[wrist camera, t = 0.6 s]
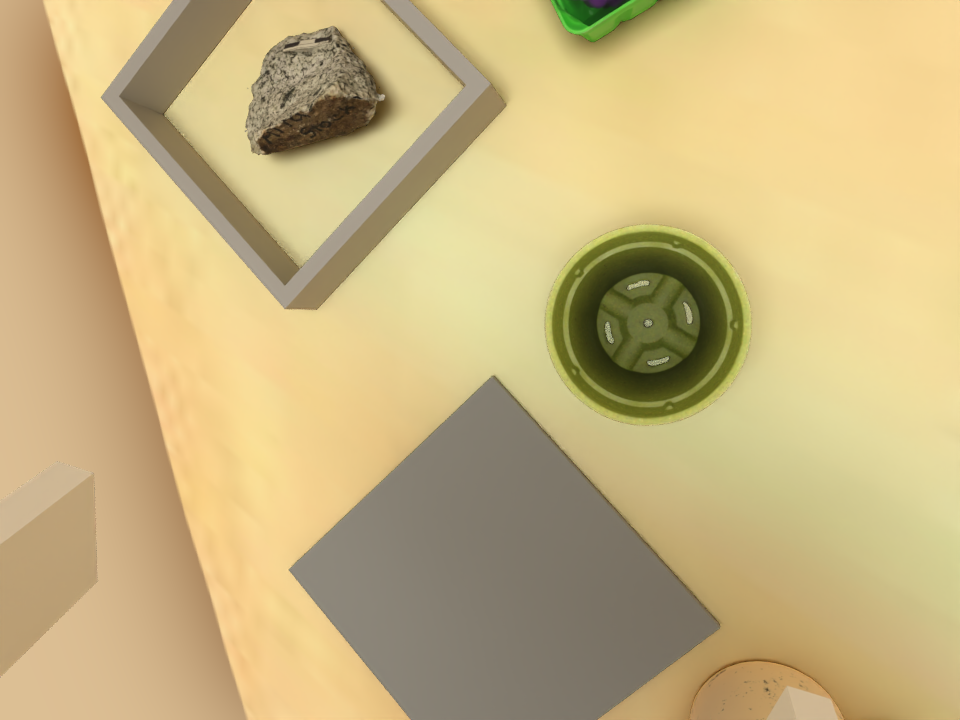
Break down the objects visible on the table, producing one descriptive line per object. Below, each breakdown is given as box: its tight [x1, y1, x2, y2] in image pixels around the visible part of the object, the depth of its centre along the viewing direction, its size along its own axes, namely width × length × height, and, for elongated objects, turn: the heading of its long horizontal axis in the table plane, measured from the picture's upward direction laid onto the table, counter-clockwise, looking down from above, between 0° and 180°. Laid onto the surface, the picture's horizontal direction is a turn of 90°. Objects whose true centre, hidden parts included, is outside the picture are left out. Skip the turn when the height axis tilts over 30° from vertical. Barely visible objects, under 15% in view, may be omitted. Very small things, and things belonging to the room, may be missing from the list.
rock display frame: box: [101, 0, 506, 310], centre depth 42 cm, size 19×18×4 cm
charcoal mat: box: [289, 376, 720, 720], centre depth 43 cm, size 20×20×1 cm
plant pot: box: [545, 224, 752, 426], centre depth 35 cm, size 9×9×9 cm
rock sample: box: [245, 26, 385, 155], centre depth 42 cm, size 10×8×9 cm
